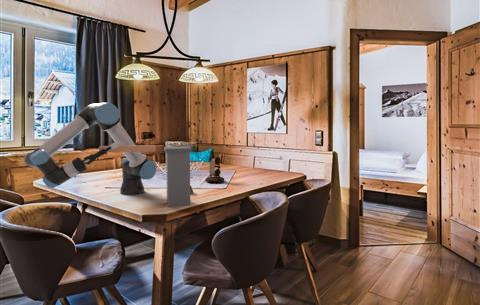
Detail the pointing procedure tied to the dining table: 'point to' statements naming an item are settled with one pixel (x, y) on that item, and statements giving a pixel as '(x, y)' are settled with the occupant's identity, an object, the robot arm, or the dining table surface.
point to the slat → (132, 148)
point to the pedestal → (178, 176)
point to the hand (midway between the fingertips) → (117, 143)
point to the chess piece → (214, 173)
